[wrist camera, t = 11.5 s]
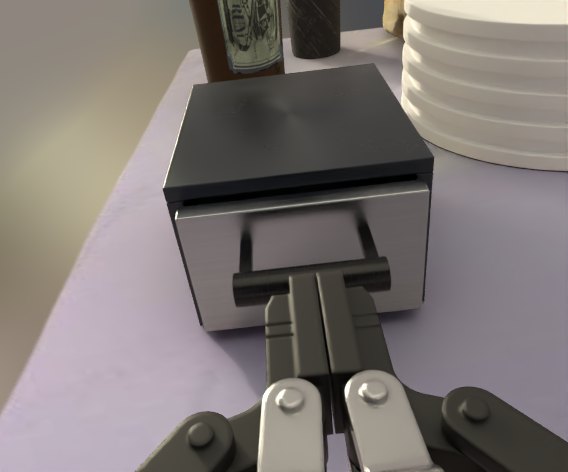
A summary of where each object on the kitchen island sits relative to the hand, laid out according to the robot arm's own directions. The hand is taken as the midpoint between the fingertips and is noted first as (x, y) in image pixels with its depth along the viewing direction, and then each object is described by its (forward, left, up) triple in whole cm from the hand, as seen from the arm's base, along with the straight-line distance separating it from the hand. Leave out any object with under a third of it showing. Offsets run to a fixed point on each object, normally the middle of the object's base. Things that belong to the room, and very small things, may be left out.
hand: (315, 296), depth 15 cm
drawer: (+12, +10, -11) cm, 19 cm away
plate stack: (+46, +5, -12) cm, 48 cm away
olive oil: (+37, +37, -12) cm, 54 cm away
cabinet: (+15, +13, -12) cm, 23 cm away
